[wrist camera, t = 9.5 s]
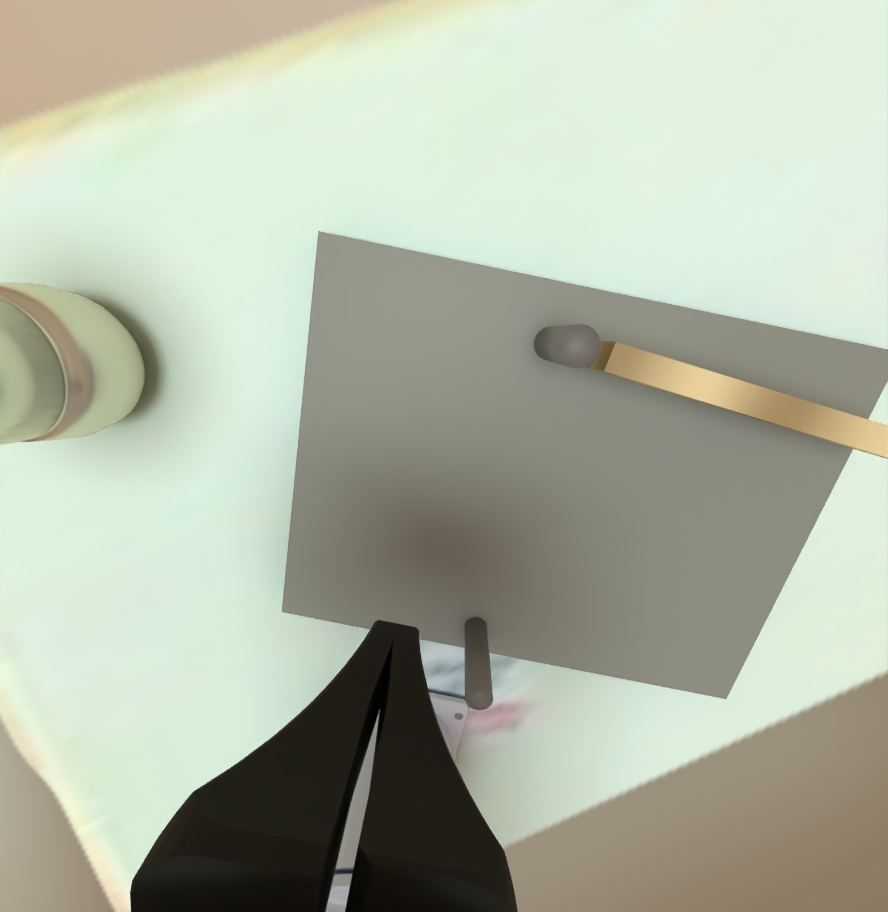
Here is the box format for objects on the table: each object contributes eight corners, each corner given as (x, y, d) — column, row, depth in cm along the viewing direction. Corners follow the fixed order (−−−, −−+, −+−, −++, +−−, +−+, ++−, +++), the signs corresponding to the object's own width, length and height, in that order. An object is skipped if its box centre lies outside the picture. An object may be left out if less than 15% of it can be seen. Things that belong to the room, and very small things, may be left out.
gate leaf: (859, 425, 18) (967, 450, 14) (846, 446, 18) (949, 476, 14) (582, 340, 17) (616, 342, 14) (573, 363, 18) (604, 371, 14)
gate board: (713, 681, 24) (789, 786, 18) (290, 598, 24) (237, 679, 18) (874, 351, 18) (1051, 358, 13) (327, 237, 18) (267, 194, 13)
